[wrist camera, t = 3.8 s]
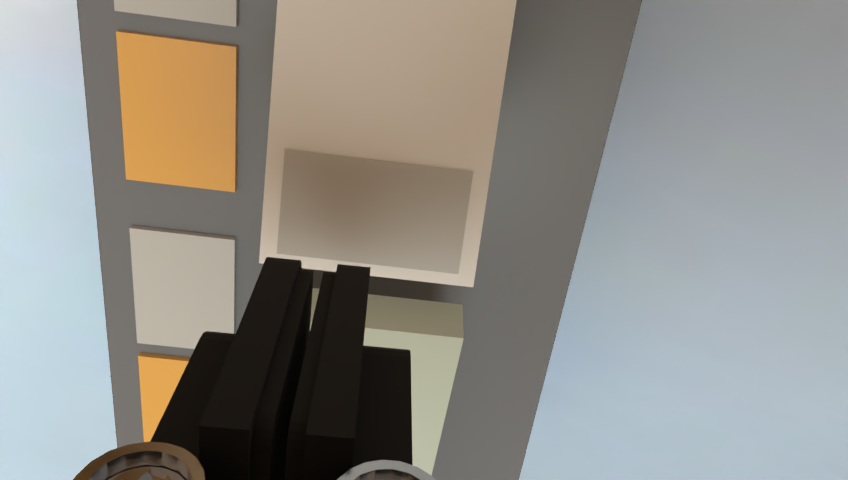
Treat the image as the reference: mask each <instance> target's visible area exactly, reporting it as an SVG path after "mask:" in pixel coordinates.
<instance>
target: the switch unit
mask: <svg viewBox="0 0 848 480" xmlns="http://www.w3.org/2000/svg"><path fill="white" fill-rule="evenodd" d="M641 3H642V0H517V2H516V8H515V15H514V22H513V28H512V35H511V41H510V48H509V55H508V61H507V68H506V74H505V81H504V88H503V94H502V101H501V107H500V114H499V121H498V127H497V134H496V140H495V147H494V154H493V160H492V167H491V173H490V180H489V187H488V193H487V200H486V207H485V213H484V220H483V226H482V233H481V240H480V246H479V253H478V259H477V266H476V273H475V279H474V286H473V287H465V286H456V285H447V284H438V283H430V282H421V281H412V280H403V279H394V278H385V277H376V276H370V279H369V290H368V294H372V295H381V296H390V297H399V298H408V299H417V300H426V301H435V302H444V303H453V304H462V305H463V331H464V339H463V344H462V348H461V352H460V356H459V361H458V365H457V369H456V373H455V378H454V382H453V386H452V390H451V395H450V399H449V403H448V408H447V412H446V416H445V420H444V425H443V429H442V433H441V437H440V442H439V446H438V450H437V454H436V459H435V463H434V467H433V471H432V476H433V477H434V478H435V480H519V476H520V472H521V468H522V465H523V461H524V457H525V453H526V449H527V445H528V441H529V437H530V434H531V430H532V426H533V422H534V418H535V414H536V410H537V406H538V403H539V399H540V395H541V391H542V387H543V383H544V379H545V375H546V372H547V368H548V364H549V360H550V356H551V352H552V348H553V344H554V340H555V337H556V333H557V329H558V325H559V321H560V317H561V313H562V309H563V306H564V302H565V298H566V294H567V290H568V286H569V282H570V278H571V275H572V271H573V267H574V263H575V259H576V255H577V251H578V247H579V244H580V240H581V236H582V232H583V228H584V224H585V220H586V216H587V212H588V209H589V205H590V201H591V197H592V193H593V189H594V185H595V181H596V178H597V174H598V170H599V166H600V162H601V158H602V154H603V150H604V147H605V143H606V139H607V135H608V131H609V127H610V123H611V119H612V116H613V112H614V108H615V104H616V100H617V96H618V92H619V88H620V85H621V81H622V77H623V73H624V69H625V65H626V61H627V57H628V53H629V50H630V46H631V42H632V38H633V34H634V30H635V26H636V22H637V19H638V15H639V11H640V7H641ZM77 8H78V19H79V30H80V41H81V52H82V63H83V74H84V85H85V96H86V107H87V118H88V129H89V140H90V151H91V162H92V173H93V184H94V195H95V206H96V217H97V228H98V239H99V250H100V261H101V272H102V283H103V294H104V305H105V316H106V327H107V338H108V349H109V360H110V371H111V382H112V393H113V404H114V415H115V426H116V437H117V448H120V447H122V446H125V445H128V444H135V443H142V442H150V441H151V439H152V437H153V435H154V433H155V431H156V428H157V426H158V424H159V422H160V420H161V418H162V416H163V414H164V412H165V410H166V408H167V406H168V403H169V401H170V399H171V397H172V395H173V393H174V391H175V389H176V387H177V385H178V383H179V381H180V378H181V376H182V374H183V372H184V370H185V368H186V366H187V364H188V362H189V360H190V358H191V356H192V353H193V351H194V349H195V347H196V345H197V343H198V341H199V339H200V337H201V336H202V334H203V333H204V332H206V331H210V332H221V333H232V334H236V332H237V329H238V327H239V324H240V322H241V319H242V317H243V314H244V312H245V309H246V307H247V304H248V302H249V299H250V297H251V294H252V292H253V289H254V287H255V284H256V282H257V279H258V277H259V274H260V272H261V269H262V267H263V264H261V263H259V254H260V240H261V226H262V212H263V198H264V184H265V170H266V155H267V141H268V127H269V113H270V99H271V85H272V71H273V57H274V42H275V28H276V14H277V0H77ZM302 269H305V268H302ZM305 270H313V288H318V289H320V285H321V280H322V276H323V272H324V271H323V270H314V269H305ZM325 272H332V271H325ZM335 273H336V272H335Z"/></svg>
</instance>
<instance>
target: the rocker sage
mask: <svg viewBox="0 0 848 480" xmlns="http://www.w3.org/2000/svg"><path fill="white" fill-rule="evenodd" d="M318 294H319V289H318V288H313V291H312V306H311V321H310V329H311V325H312V320H313V316H314V311H315V307H316V302H317V298H318ZM463 339H464V331H463V305H462V304H453V303H444V302H435V301H426V300H417V299H408V298H399V297H390V296H381V295H372V294H368V301H367V311H366V322H365V333H364V344H363V346H374V347H385V348H396V349H407V350H410V353H411V403H412V465H413V466H416V467H419V468H420V469H422V470H423V471H425V472H427V473H428V474H430V475H431V476H432V471H433V467H434V463H435V459H436V454H437V450H438V446H439V442H440V437H441V433H442V429H443V425H444V420H445V416H446V412H447V408H448V403H449V399H450V395H451V390H452V386H453V382H454V378H455V373H456V369H457V365H458V361H459V356H460V352H461V348H462V344H463Z"/></svg>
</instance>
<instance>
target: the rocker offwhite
mask: <svg viewBox="0 0 848 480" xmlns="http://www.w3.org/2000/svg"><path fill="white" fill-rule="evenodd" d="M516 2H517V0H277V14H276V28H275V42H274V57H273V71H272V85H271V99H270V113H269V127H268V141H267V155H266V170H265V184H264V198H263V212H262V226H261V240H260V254H259V263H261V264H264V262H265V259H266V258H267V257H273V258H283V259H292V260H301V262H302V268H305V269H314V270H323V271H332V272H336V270H337V265H338V264H342V265H352V266H362V267H371V269H370V276H376V277H385V278H394V279H403V280H412V281H421V282H430V283H438V284H447V285H456V286H465V287H473V286H474V279H475V273H476V266H477V259H478V253H479V246H480V240H481V233H482V226H483V220H484V213H485V207H486V200H487V193H488V187H489V180H490V173H491V167H492V160H493V154H494V147H495V140H496V134H497V127H498V121H499V114H500V107H501V101H502V94H503V88H504V81H505V74H506V68H507V61H508V55H509V48H510V41H511V35H512V28H513V22H514V15H515V8H516Z"/></svg>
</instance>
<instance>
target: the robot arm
mask: <svg viewBox="0 0 848 480" xmlns="http://www.w3.org/2000/svg"><path fill="white" fill-rule="evenodd" d="M370 269H371V267H362V266H352V265H342V264H338V265H337V270H336V273H335V272H325V271H324V272H323V276H322V280H321V285H320V289H319V294H318V298H317V302H316V307H315V311H314V316H313V320H312V325H311V329H310V321H311V306H312V291H313V270H305V269H302V262H301V260H292V259H283V258H273V257H267V258H266V259H265V262H264V264H263V267H262V269H261V272H260V274H259V277H258V279H257V282H256V284H255V287H254V289H253V292H252V294H251V297H250V299H249V302H248V304H247V307H246V309H245V312H244V314H243V317H242V319H241V322H240V324H239V327H238V329H237V332H236V334H232V333H221V332H210V331H206V332H204V333H203V334H202V336H201V337H200V339H199V341H198V343H197V345H196V347H195V349H194V351H193V353H192V356H191V358H190V360H189V362H188V364H187V366H186V368H185V370H184V372H183V374H182V376H181V378H180V381H179V383H178V385H177V387H176V389H175V391H174V393H173V395H172V397H171V399H170V401H169V403H168V406H167V408H166V410H165V412H164V414H163V416H162V418H161V420H160V422H159V424H158V426H157V428H156V431H155V433H154V435H153V437H152V439H151V441H150V442H142V443H135V444H128V445H125V446H122V447H120V448H117V449H114V450H111V451H108V452H107V453H105V454H103V455H101V456H100V457H98V458H96V459H95V460H93V461H91V462H90V463H89V464H88V465H87V466H86V467H85V468H84V469H83V470H82V471H81V472H79V473H78V474H77V475H76V477H75V478H74V479H73V480H435V478H434V477H433V476H431V475H430V474H428V473H427V472H425V471H423V470H422V469H420V468H419V467H416V466H413V465H412V403H411V353H410V350H407V349H396V348H385V347H374V346H363V344H364V333H365V322H366V311H367V301H368V290H369V279H370Z"/></svg>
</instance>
